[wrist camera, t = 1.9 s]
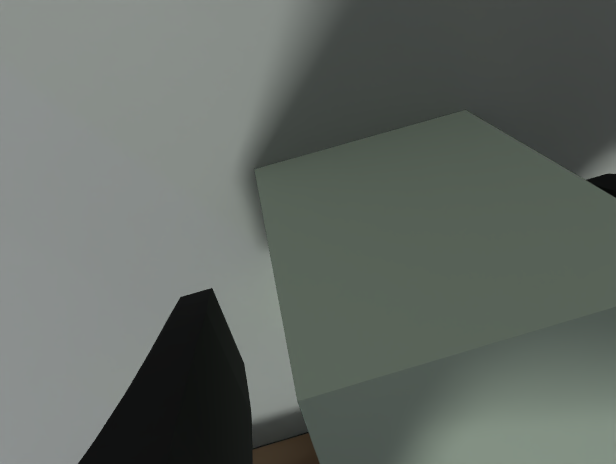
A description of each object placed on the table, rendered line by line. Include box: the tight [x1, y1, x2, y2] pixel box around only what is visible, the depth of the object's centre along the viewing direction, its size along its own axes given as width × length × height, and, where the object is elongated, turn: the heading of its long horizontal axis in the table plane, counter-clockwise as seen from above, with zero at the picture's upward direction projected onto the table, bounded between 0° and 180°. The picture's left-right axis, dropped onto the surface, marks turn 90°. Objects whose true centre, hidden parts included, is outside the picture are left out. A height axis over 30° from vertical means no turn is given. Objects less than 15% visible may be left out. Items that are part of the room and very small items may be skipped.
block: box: [254, 110, 616, 464], centre depth 8 cm, size 4×4×6 cm
